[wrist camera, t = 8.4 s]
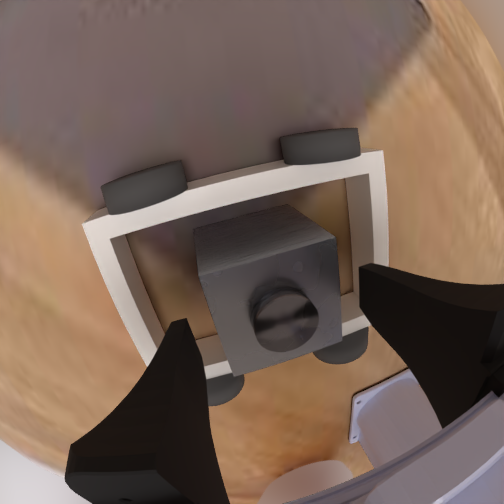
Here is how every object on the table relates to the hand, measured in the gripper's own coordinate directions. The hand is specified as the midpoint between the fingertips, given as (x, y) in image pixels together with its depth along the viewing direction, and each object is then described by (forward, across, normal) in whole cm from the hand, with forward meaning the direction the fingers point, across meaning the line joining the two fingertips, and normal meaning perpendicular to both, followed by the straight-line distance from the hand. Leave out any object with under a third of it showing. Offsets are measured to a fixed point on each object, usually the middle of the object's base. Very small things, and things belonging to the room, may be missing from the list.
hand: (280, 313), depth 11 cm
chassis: (+5, 0, 0) cm, 5 cm away
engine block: (+5, 0, 0) cm, 5 cm away
